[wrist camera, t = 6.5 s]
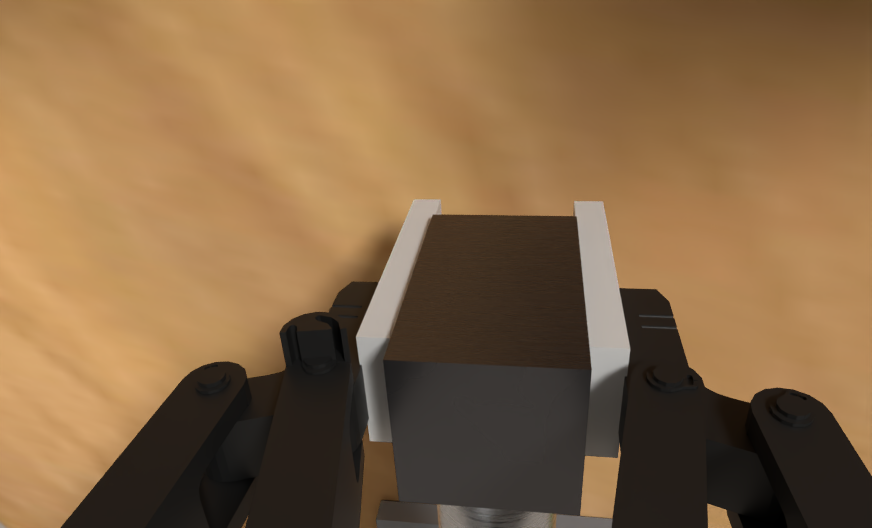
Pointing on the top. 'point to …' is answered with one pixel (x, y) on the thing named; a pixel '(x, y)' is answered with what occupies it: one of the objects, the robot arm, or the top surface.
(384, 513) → the bearing stand
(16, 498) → the top surface
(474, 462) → the shaft
